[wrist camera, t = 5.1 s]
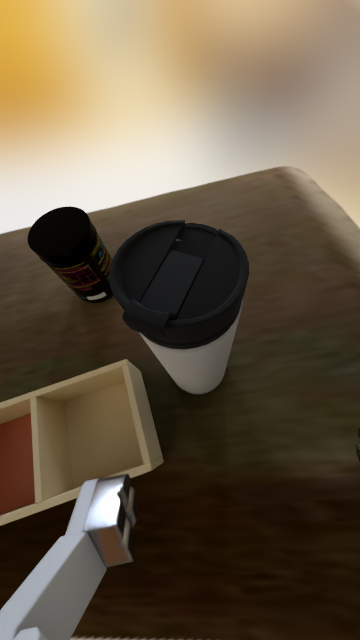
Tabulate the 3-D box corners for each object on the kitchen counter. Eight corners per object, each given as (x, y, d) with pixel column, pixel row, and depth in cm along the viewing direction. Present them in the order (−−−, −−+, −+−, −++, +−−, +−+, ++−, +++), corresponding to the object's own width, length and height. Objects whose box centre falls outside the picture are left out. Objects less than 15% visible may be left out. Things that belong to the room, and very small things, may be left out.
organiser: (164, 462, 25) (152, 470, 20) (-109, 561, 24) (-195, 597, 19) (140, 371, 29) (126, 358, 24) (-93, 453, 28) (-160, 458, 23)
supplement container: (116, 258, 36) (83, 198, 27) (128, 294, 33) (96, 241, 24) (73, 274, 36) (24, 219, 27) (81, 312, 33) (30, 265, 24)
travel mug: (161, 384, 28) (71, 302, 10) (183, 334, 30) (144, 191, 12) (212, 407, 26) (219, 357, 8) (232, 352, 29) (271, 218, 10)
